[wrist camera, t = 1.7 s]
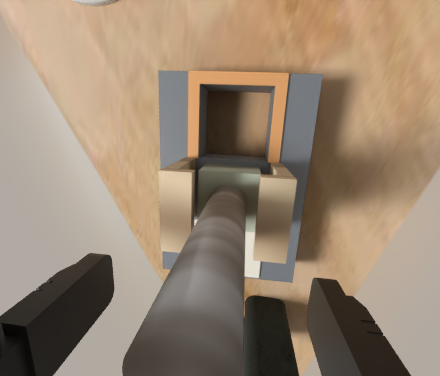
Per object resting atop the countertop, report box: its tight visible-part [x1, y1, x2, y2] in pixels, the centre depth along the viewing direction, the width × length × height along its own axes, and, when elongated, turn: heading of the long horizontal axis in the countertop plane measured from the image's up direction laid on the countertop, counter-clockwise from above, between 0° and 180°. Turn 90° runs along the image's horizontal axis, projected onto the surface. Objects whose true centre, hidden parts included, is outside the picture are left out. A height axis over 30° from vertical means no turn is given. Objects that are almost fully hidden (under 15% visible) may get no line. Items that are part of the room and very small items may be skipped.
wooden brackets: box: [159, 157, 297, 264], centre depth 19 cm, size 6×9×7 cm, turn 87°
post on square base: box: [122, 164, 261, 376], centre depth 14 cm, size 5×5×18 cm
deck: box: [158, 71, 323, 283], centre depth 24 cm, size 20×14×4 cm
